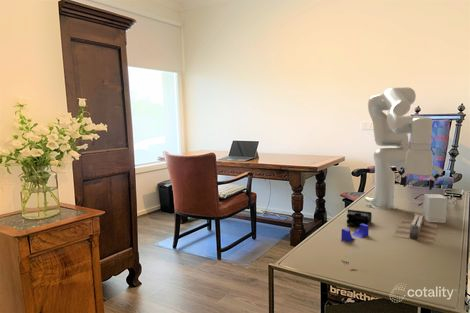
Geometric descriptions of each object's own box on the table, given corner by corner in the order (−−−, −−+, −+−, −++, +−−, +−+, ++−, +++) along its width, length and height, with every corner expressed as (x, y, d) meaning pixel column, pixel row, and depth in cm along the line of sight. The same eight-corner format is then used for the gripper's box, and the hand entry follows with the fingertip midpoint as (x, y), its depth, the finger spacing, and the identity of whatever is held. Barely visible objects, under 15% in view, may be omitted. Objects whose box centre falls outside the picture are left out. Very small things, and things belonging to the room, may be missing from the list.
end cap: (371, 225, 153) (371, 210, 152) (369, 229, 147) (369, 215, 146) (348, 221, 158) (349, 207, 157) (345, 226, 152) (345, 212, 151)
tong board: (433, 247, 127) (434, 230, 126) (393, 239, 135) (393, 224, 134) (437, 228, 147) (438, 213, 146) (402, 222, 155) (403, 208, 154)
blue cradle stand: (359, 236, 140) (359, 222, 139) (368, 239, 136) (368, 225, 135) (338, 242, 134) (338, 227, 133) (347, 246, 130) (347, 231, 130)
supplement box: (445, 225, 149) (447, 198, 148) (427, 225, 151) (429, 197, 149) (439, 220, 157) (441, 194, 155) (422, 219, 158) (423, 193, 156)
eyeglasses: (458, 209, 174) (459, 200, 173) (418, 206, 180) (418, 197, 179) (451, 201, 188) (451, 192, 188) (413, 199, 195) (414, 190, 194)
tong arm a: (413, 234, 135) (413, 226, 134) (408, 234, 136) (408, 225, 135) (419, 221, 150) (419, 213, 149) (414, 220, 151) (415, 213, 150)
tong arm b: (420, 236, 133) (420, 227, 133) (415, 235, 134) (415, 226, 134) (424, 222, 149) (425, 214, 148) (419, 221, 150) (420, 213, 149)
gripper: (395, 147, 141) (393, 187, 144) (444, 149, 131) (440, 192, 134) (398, 145, 147) (396, 183, 150) (445, 147, 137) (441, 188, 140)
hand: (417, 187), depth 142 cm, fingers open, 9 cm apart
